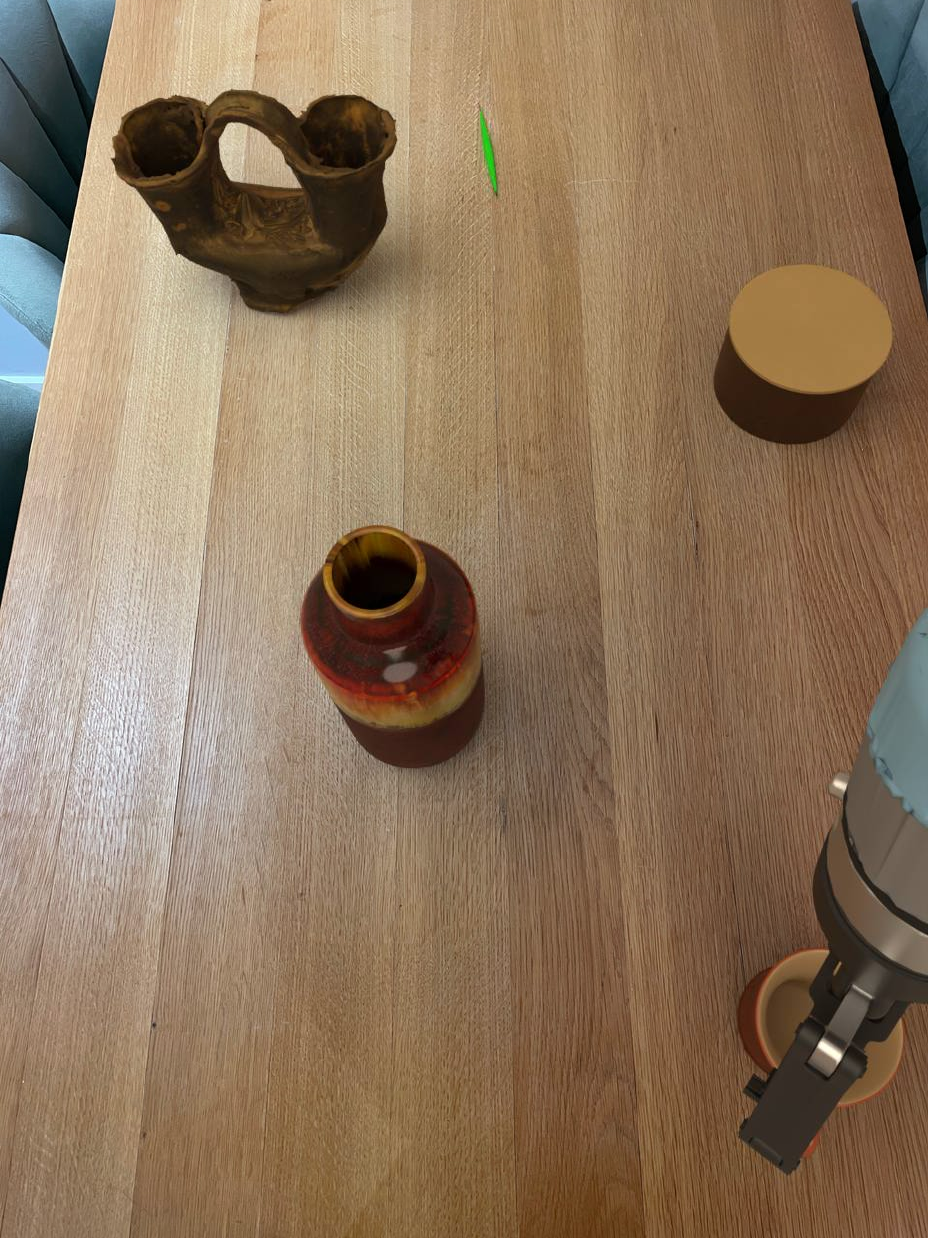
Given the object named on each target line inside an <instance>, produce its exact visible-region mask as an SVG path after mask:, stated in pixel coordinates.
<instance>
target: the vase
mask: <svg viewBox="0 0 928 1238" xmlns="http://www.w3.org/2000/svg"><path fill="white" fill-rule="evenodd" d="M299 623H300V635H301V639H302V643H303V647H304V649H305V652H306V654H307V656H308V658H309V661H310V663H311V665H312V667H313V669H314V671H315V672H316V674H317V676H318V678H319V680H320V681H321V683H322V685H323V687H324V688H325V690H326V692H327V694H328V696H329V697H330V699H331V700H332V702H333V704H334V705H335V707H336V710H337V711H338V712H339V714H340V716H341V718H342V719H343V721H344V723H345V724H346V726H347V728H348V729H349V730H350V732H351V734H352V736H353V737H354V739H355V740H356V741H357V742H358V744H359V745H360V746H361V747H362V748H363V750H365V751H366V752H367V753H368V754H370V755H371V756H372V757H374V758H375V759H376V760H379V761H380V762H382V763H384V764H387V765H389V766H392V767H396V768H401V769H415V770H416V769H425V768H430V767H433V766H434V767H435V766H437V765H440V764H442V763H444V762H446V761H448V760H450V759H451V758H453V757H455V756H456V755H458V754H459V753H460V752H462V750H463V749H464V748H465V747H467V746H468V744H470V742H471V741H472V740H473V738H474V736H475V735H476V733H477V731H478V730H479V727H480V725H481V722H482V719H483V716H484V711H485V705H486V704H485V699H486V698H485V697H486V686H485V685H486V684H485V674H484V660H483V647H482V637H481V626H480V619H479V612H478V605H477V599H476V595H475V592H474V589H473V585H472V584H471V582H470V580H469V578H468V576H467V575H466V572H465V571H464V570H463V568H462V567H461V566H460V564H459V563H458V562H457V561H456V560H455V559H454V558H453V557H451V555H449V554H448V553H447V552H445V551H444V550H442V549H441V548H439V547H438V546H436V545H434V544H433V543H430V542H428V541H426V540H423V539H418V538H416V537H412V536H411V535H409V534H408V533H406V532H405V531H403V530H401V529H399V528H397V527H393V526H390V525H383V524H372V525H365V526H362V527H358V528H356V529H353V530H351V531H349V532H348V533H346V534H343V536H342V537H341V538H340V539H338V540H337V541H336V543H334V544H333V545H332V547H331V549H330V550H329V552H328V553H327V556H326V558H325V559H324V563H323V565H322V566H321V567H320V568H319V569H318V570H317V572H316V574H315V575H314V576H313V578H312V579H311V580H310V583H309V585H308V586H307V589H306V591H305V594H304V597H303V600H302V603H301V609H300V618H299Z"/></svg>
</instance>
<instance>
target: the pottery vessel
mask: <svg viewBox="0 0 928 1238" xmlns="http://www.w3.org/2000/svg"><path fill="white" fill-rule="evenodd" d="M305 109H306V110H305V111H304V110H301V111H300V113H301V114H300V115H299V116H298V117H297V116H296V115H295V114H294V113H293V112H292V111H291V109H289V108H288V106H286V105H285V104H283V103H282V102H281V101H278V99H276V98H275V97H272V96H268V95H266V94H262V93H260V92H259V91H258V90H251V89H233V88H231V89H229V90H225V91H223V92H221V93H220V94H218V95H217V97H216V98H215V99H213V100H212V102H210V103H209V104H207V102H205V101H204V100H199V99H197V98H195V97H190V96H184V95H180V94H179V95H177V94H174V95H171V96H170V97H168V98H164V97H157V98H155V99H151V100H149V101H147V102H145V103H144V104H142V105H139V106H137V107H135V108H132V109H131V110H130V111H128V112H126V113H125V114H124V115H122V116H121V117H120V119H121V123H120V126H119V130H118V131H117V134H116V135H114V136H112V137H111V140H112V149H113V151H114V157H111V156H110V160H111V162H112V164H113V166H114V172H115V173H116V176H117V177H118V178H119V179H120V180H121V181H123V182H124V183H125V184H126V185H128V186H129V187H131V188H134V189H135V190H136V192H137V193H138V194H139V195H140V197H141V198H142V199H143V200H144V202H145V203H146V205H147V206H148V208H149V209H150V211H151V212H152V213H153V215H154V216H155V217H156V219H157V220H158V222H159V223H160V224H161V225H162V228H163V229H164V231H165V234H166V236H167V238H168V241H169V243H170V245H171V248H172V249H173V252H174V253H175V256H178V255H180V256H182V257H183V258H185V259H186V260H188V261H189V262H192V263H193V264H195V265H198V266H200V267H203V268H205V269H208V270H210V271H213V272H215V273H216V272H217V273H219V274H221V275H223V276H226V277H228V278H230V282H234V283H235V285H236V286H237V288H238V290H239V296H240V298H241V299H242V301H243V303H244V304H245V306H246V307H247V308H248V309H250V310H255V311H260V312H263V313H265V312H266V311H267V312H268V313H271V314H272V313H274V314H275V313H276V314H282V315H284V314H285V315H286V314H288V315H290V313H291V312H293V311H294V310H295V309H297V308H299V307H300V306H302V305H303V304H306V303H307V302H310V301H312V300H317V299H319V298H322V297H323V296H325V295H326V294H327V293H330V292H335V291H336V290H337V289H338V287H339V285H340V284H344V282H345V281H346V280H348V279H349V278H350V277H351V276H352V274H353V273H355V272H356V271H357V270H358V269H360V268H361V266H362V265H363V263H364V262H365V260H366V258H367V257H368V256H369V254H370V253H371V252H372V250H373V248H374V246H375V245H376V243H377V241H378V239H379V238H380V235H381V234H382V232H383V231H384V229H385V227H386V225H387V220H388V217H389V216H388V215H389V214H388V213H389V211H388V205H387V199H386V194H385V186H384V174H385V170H386V162H387V161H388V159H390V157H392V156H393V153H394V151H395V148H396V146H397V142H398V135H397V134H396V132H397V127H396V123H397V119H395V118H394V117H393V115H392V114H391V113H390V111H389V110H387V109H384V108H382V107H380V106H379V105H377V104H376V103H374V102H373V101H371V100H369V99H366V98H365V97H364V96H362V95H358V94H340V95H336V93H332V94H331V95H329V94H326V95H322V96H320V97H318V98H316V99H314V100H312V101H311V102H310V103H308V106H306V107H305ZM231 123H232V124H242V125H246V126H248V127H250V128H252V129H254V130H257V131H258V132H260V133H261V134H262V135H264V136H265V137H266V138H267V139H268V141H270V143H271V144H272V145H273V146H275V147H276V148H277V149H279V150H280V152H281V154H282V156H283V160H284V162H285V164H286V165H287V166H288V167H289V168H290V169H291V172H292V173H293V175H294V177H295V178H296V180H297V182H298V183H299V186H300V187H284V186H273V185H265V184H257V183H249V182H241V181H235V180H231V178H230V177H229V176H228V174H227V172H226V170H225V168H224V165H223V162H222V160H221V150H220V139H221V137H222V135H223V134H224V132H225V130H226V128H227V125H228V124H231Z"/></svg>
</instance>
